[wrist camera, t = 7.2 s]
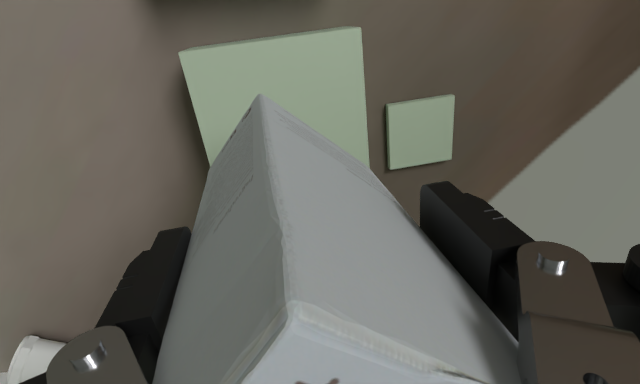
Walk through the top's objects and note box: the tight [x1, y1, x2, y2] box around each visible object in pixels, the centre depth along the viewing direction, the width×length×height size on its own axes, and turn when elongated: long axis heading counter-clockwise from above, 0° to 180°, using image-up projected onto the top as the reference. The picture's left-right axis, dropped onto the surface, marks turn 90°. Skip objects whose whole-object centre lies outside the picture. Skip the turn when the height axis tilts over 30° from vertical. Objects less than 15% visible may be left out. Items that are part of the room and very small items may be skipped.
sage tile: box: [386, 94, 455, 170], centre depth 27 cm, size 5×5×1 cm
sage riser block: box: [178, 26, 370, 169], centre depth 23 cm, size 10×10×4 cm
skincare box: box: [152, 94, 521, 384], centre depth 10 cm, size 6×4×12 cm
